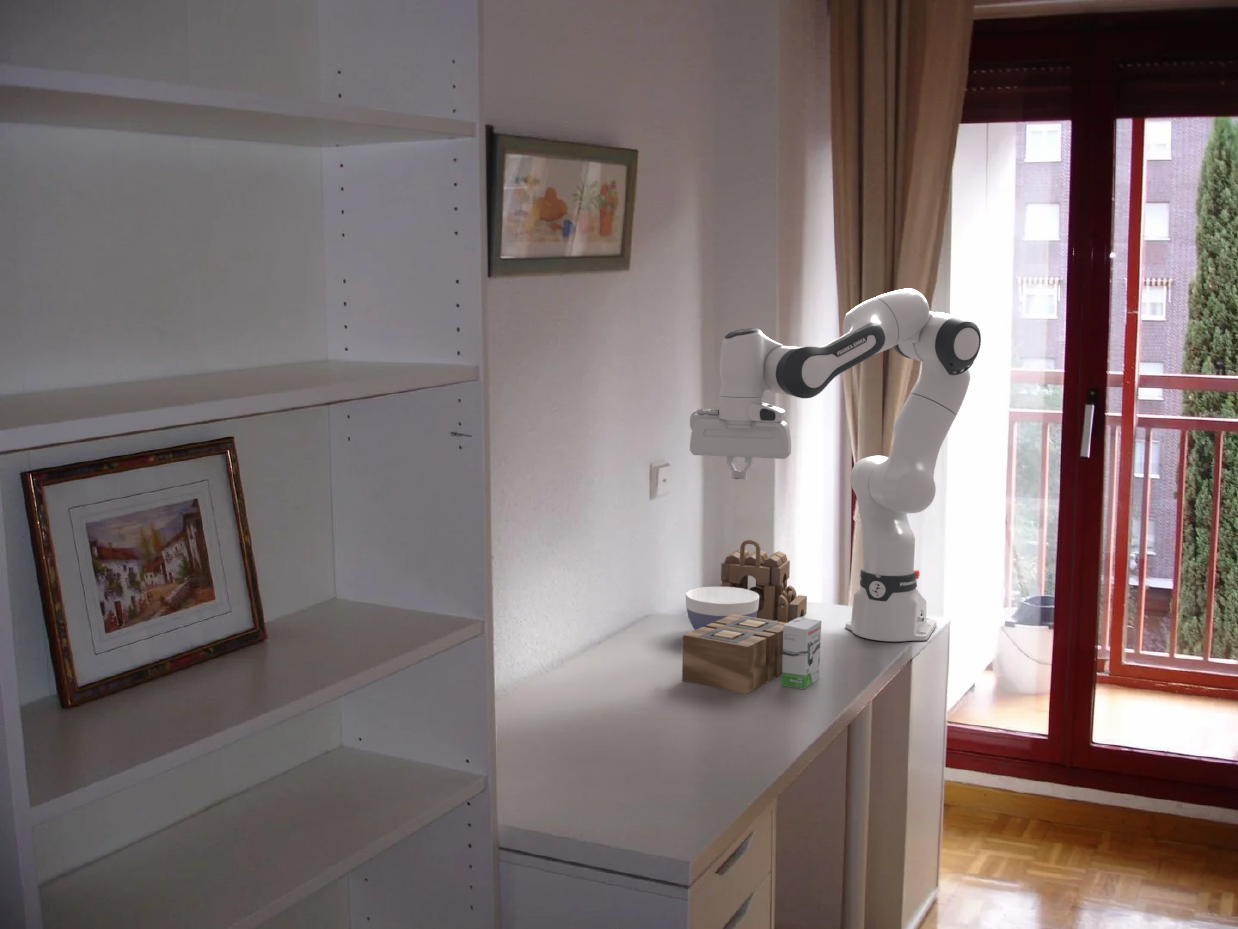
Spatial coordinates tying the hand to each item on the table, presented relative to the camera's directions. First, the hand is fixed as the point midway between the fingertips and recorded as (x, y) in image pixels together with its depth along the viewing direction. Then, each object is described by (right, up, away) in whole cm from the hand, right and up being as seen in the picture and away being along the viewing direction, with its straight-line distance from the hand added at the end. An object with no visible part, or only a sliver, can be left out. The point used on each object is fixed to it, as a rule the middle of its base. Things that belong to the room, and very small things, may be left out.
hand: (739, 479), depth 246 cm
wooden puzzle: (+8, -33, +41) cm, 53 cm away
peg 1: (-3, -39, -11) cm, 40 cm away
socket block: (-1, -38, -6) cm, 39 cm away
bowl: (-2, -35, +20) cm, 40 cm away
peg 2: (+2, -38, -2) cm, 38 cm away
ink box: (+11, -39, -11) cm, 42 cm away
